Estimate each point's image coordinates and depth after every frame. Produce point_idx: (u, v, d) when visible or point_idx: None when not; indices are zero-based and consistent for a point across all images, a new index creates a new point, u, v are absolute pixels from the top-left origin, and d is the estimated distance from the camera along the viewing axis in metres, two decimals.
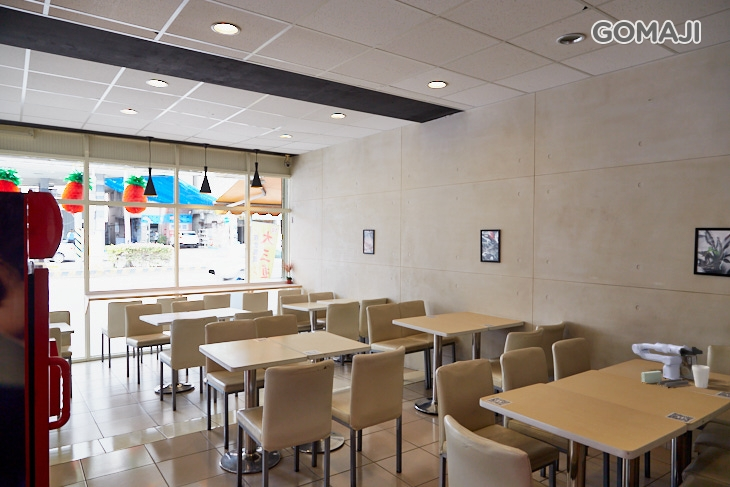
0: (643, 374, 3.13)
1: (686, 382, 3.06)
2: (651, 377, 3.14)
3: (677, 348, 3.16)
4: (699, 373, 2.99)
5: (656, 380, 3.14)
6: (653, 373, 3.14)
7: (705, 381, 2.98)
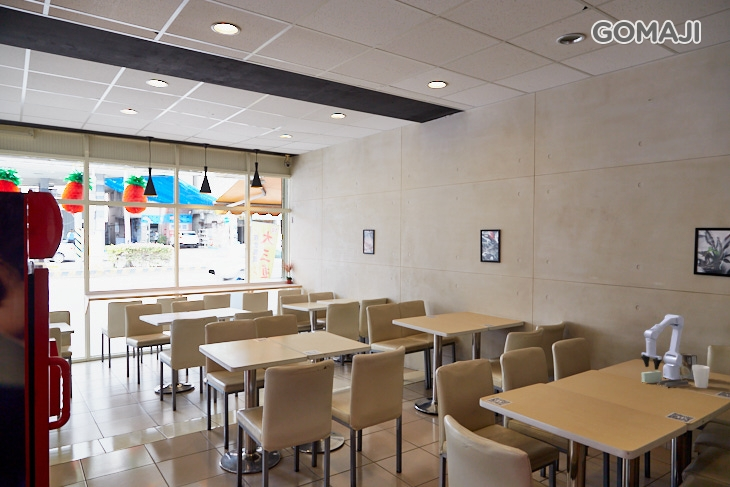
0: (643, 374, 3.13)
1: (686, 382, 3.06)
2: (651, 377, 3.14)
3: None
4: (699, 373, 2.99)
5: (656, 380, 3.14)
6: (653, 373, 3.14)
7: (705, 381, 2.98)
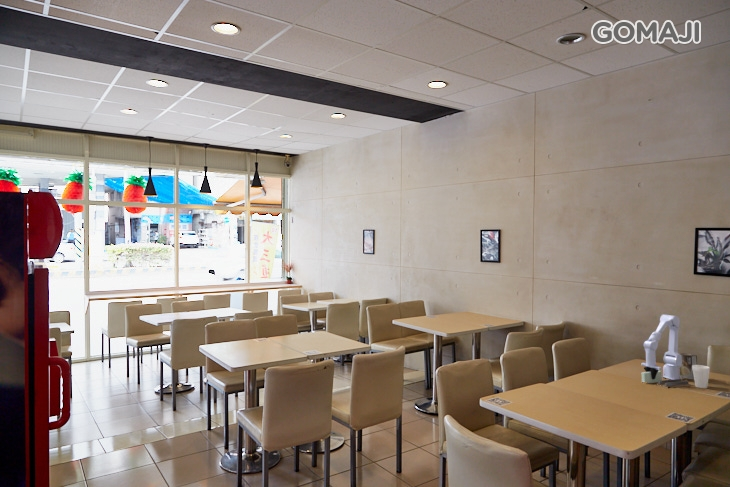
0: (643, 374, 3.13)
1: (686, 382, 3.06)
2: (651, 377, 3.14)
3: None
4: (699, 373, 2.99)
5: (656, 380, 3.14)
6: None
7: (705, 381, 2.98)
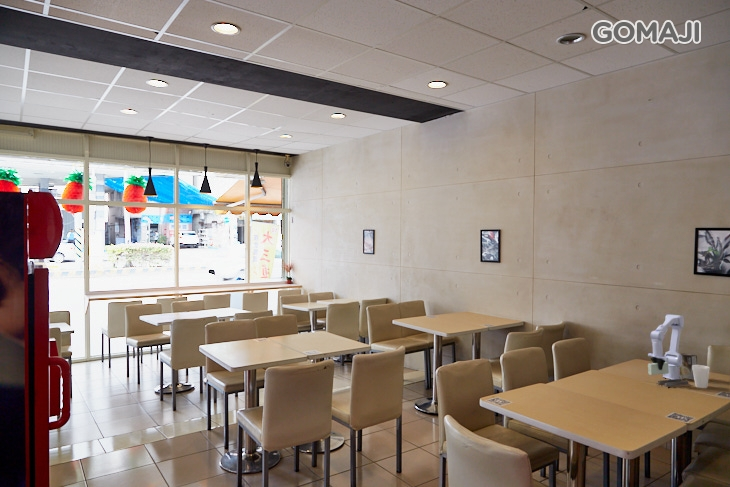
0: (650, 365, 3.11)
1: (686, 382, 3.06)
2: None
3: None
4: (699, 373, 2.99)
5: (663, 371, 3.12)
6: None
7: (705, 381, 2.98)
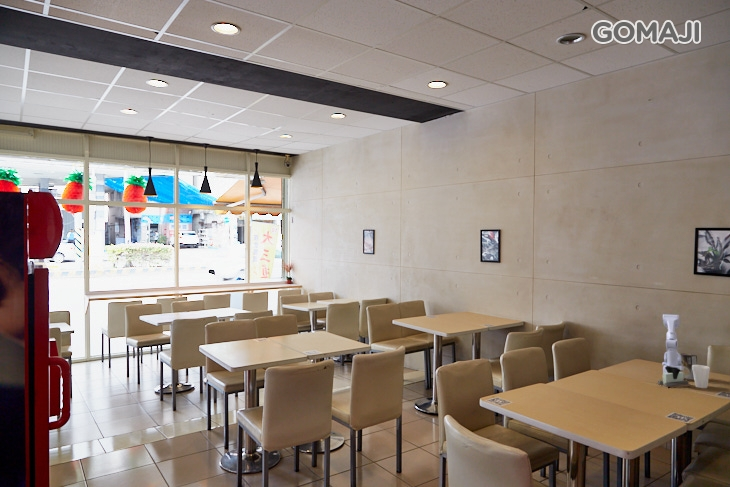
0: (665, 375, 3.05)
1: (686, 382, 3.06)
2: None
3: None
4: (699, 373, 2.99)
5: None
6: None
7: (705, 381, 2.98)
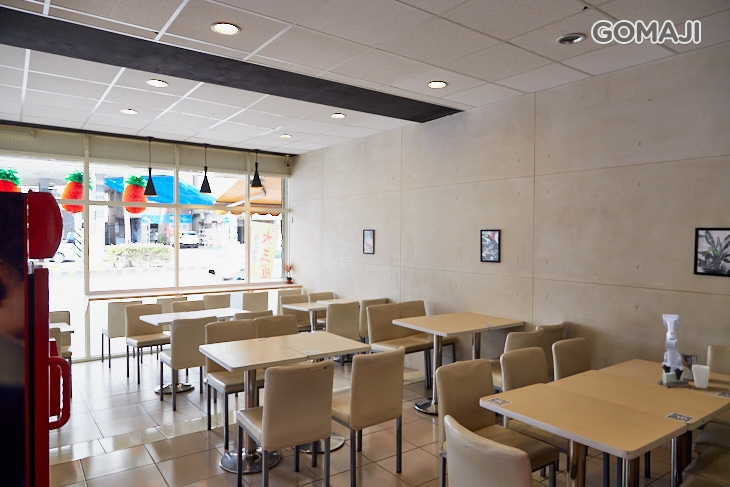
0: (665, 375, 3.05)
1: (686, 382, 3.06)
2: (673, 378, 3.06)
3: None
4: (699, 373, 2.99)
5: None
6: (675, 374, 3.06)
7: (705, 381, 2.98)
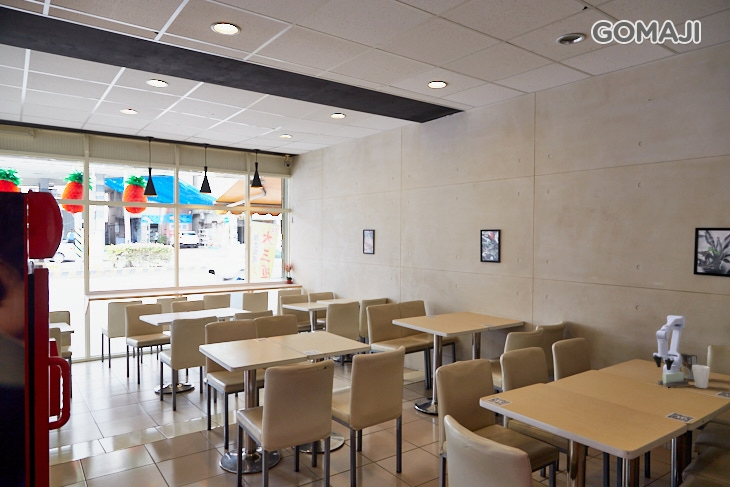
0: (665, 375, 3.05)
1: (686, 382, 3.06)
2: (673, 378, 3.06)
3: None
4: (699, 373, 2.99)
5: None
6: (675, 374, 3.06)
7: (705, 381, 2.98)
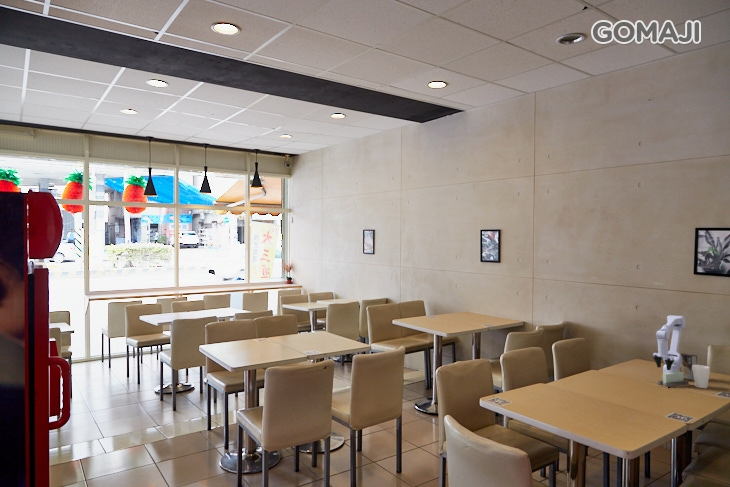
0: (665, 375, 3.05)
1: (686, 382, 3.06)
2: (673, 378, 3.06)
3: None
4: (699, 373, 2.99)
5: None
6: (675, 374, 3.06)
7: (705, 381, 2.98)
